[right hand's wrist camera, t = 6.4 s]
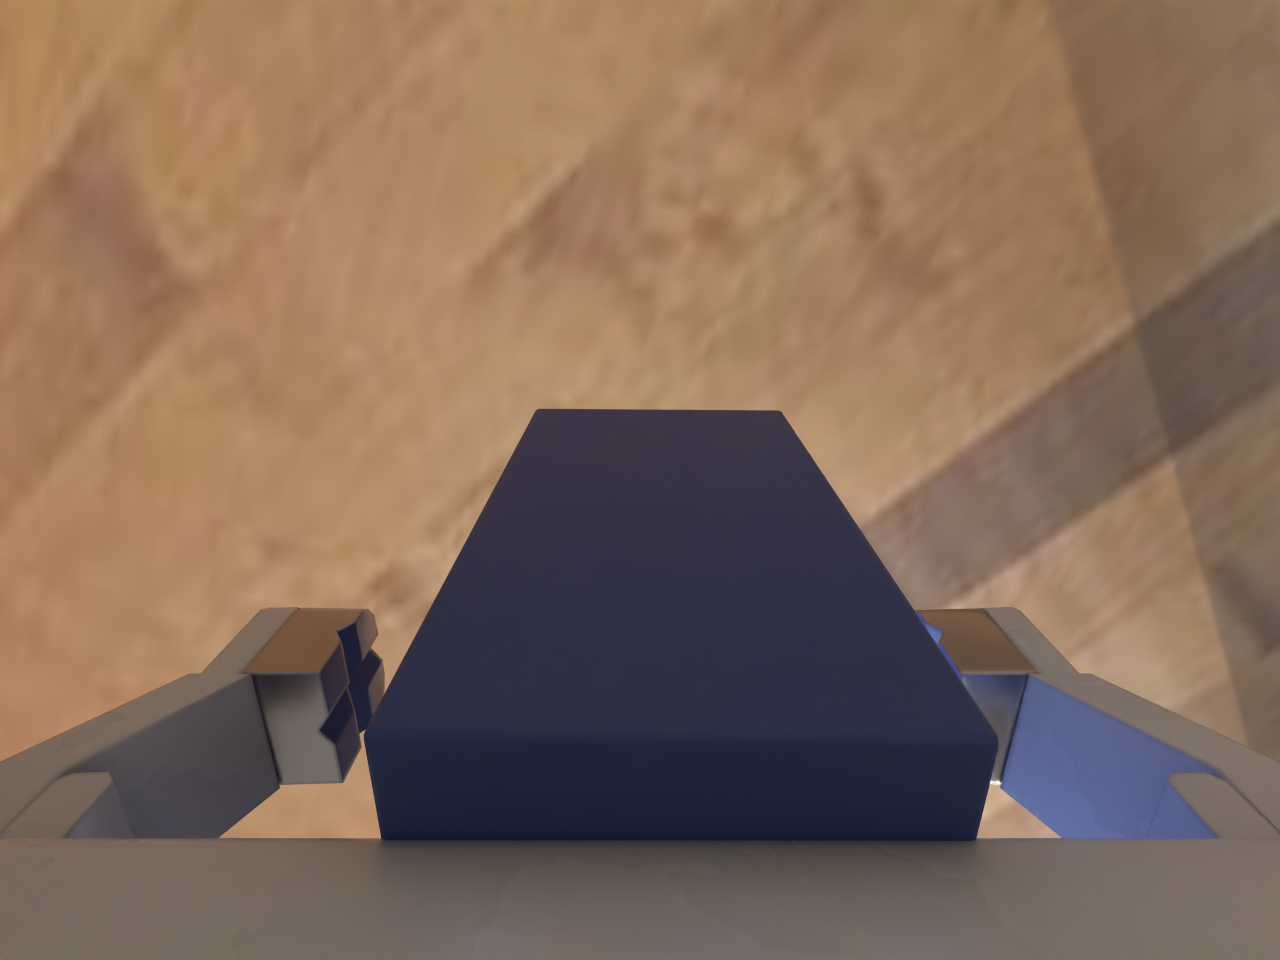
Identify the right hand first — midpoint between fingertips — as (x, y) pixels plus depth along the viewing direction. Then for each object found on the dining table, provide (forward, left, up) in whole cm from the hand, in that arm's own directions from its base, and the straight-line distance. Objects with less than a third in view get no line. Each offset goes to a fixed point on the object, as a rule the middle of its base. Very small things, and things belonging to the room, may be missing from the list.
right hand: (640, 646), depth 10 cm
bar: (-10, +2, -4) cm, 11 cm away
